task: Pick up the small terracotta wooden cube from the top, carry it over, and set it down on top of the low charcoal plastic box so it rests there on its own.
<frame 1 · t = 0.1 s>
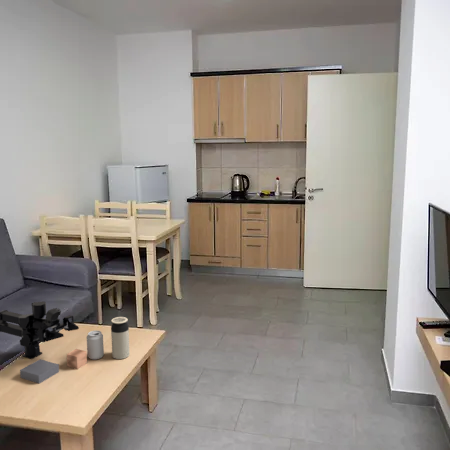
hand: (71, 331, 204), 17 cm above the table, tool horizontal, fingers open, 9 cm apart
travel mug: (121, 356, 218), on the table
can: (95, 357, 217), on the table
terracotta cube: (77, 365, 209), on the table
charcoal box: (40, 375, 200), on the table
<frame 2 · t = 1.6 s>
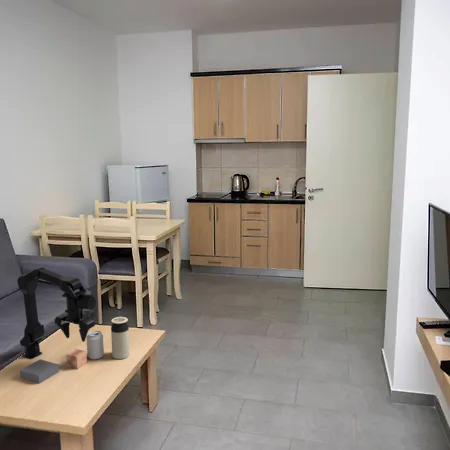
hand: (75, 339, 206), 12 cm above the table, tool pointing down, fingers open, 9 cm apart
nothing on the table moved.
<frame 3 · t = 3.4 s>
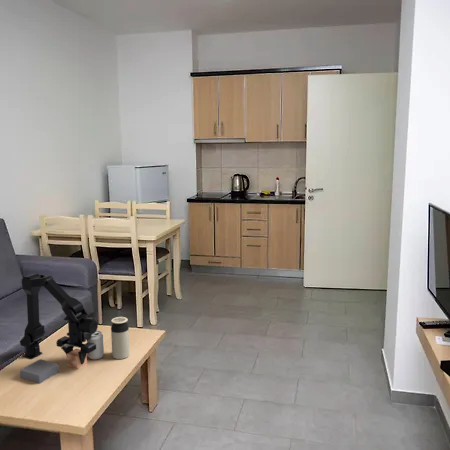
hand: (77, 362, 208), 1 cm above the table, tool pointing down, fingers closed on terracotta cube, 6 cm apart
terracotta cube: (77, 364, 209), on the table, touching gripper
everything else where it was.
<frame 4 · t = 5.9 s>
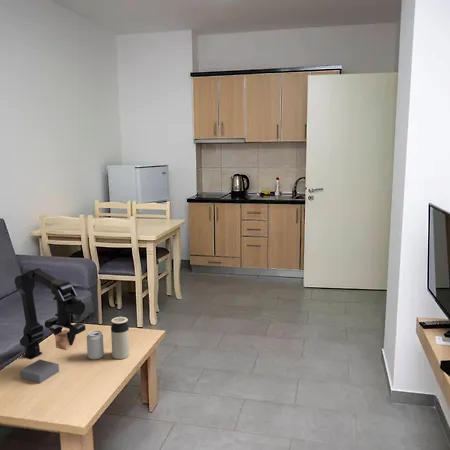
hand: (65, 343, 204), 11 cm above the table, tool pointing down, fingers closed on terracotta cube, 6 cm apart
terracotta cube: (66, 346, 204), point 10 cm above the table, touching gripper
everything else where it was.
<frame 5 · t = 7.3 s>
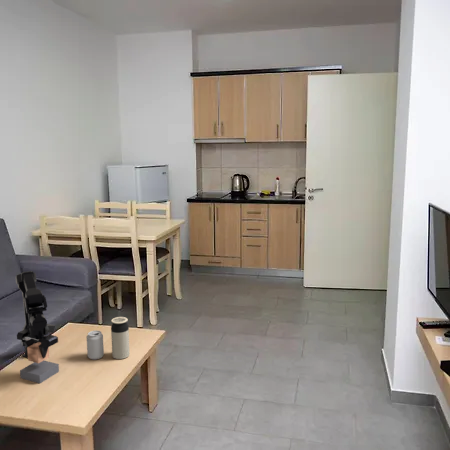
hand: (38, 356, 198), 9 cm above the table, tool pointing down, fingers closed on terracotta cube, 6 cm apart
terracotta cube: (38, 358, 198), point 7 cm above the table, touching gripper
everything else where it was.
when the fingers open (7 cm above the table, at t = 8.5 s): terracotta cube drops 2 cm, resting on charcoal box.
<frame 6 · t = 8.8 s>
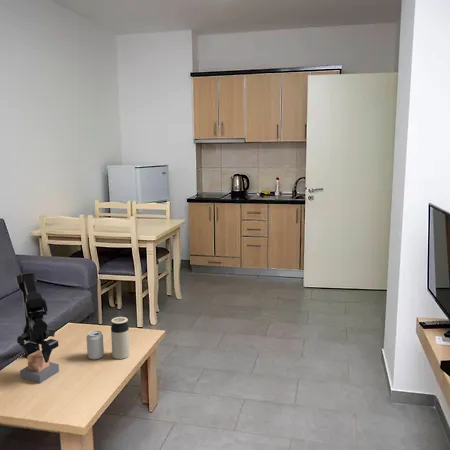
hand: (39, 360, 198), 7 cm above the table, tool pointing down, fingers open, 9 cm apart
terracotta cube: (38, 367, 199), point 4 cm above the table, touching charcoal box
charcoal box: (40, 375, 200), on the table, touching terracotta cube
everything else where it was.
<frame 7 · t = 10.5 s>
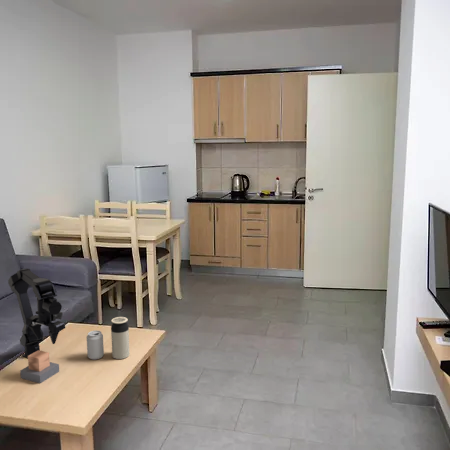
hand: (46, 341, 205), 12 cm above the table, tool pointing down, fingers open, 9 cm apart
nothing on the table moved.
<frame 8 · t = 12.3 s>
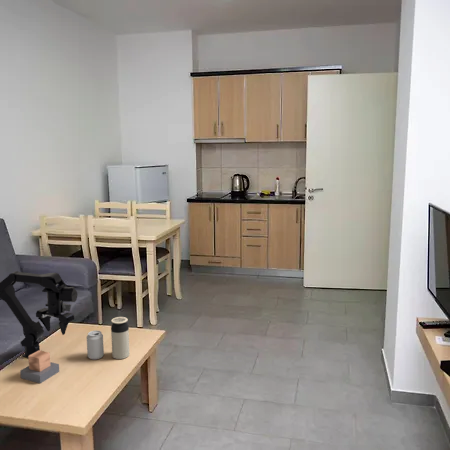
hand: (56, 332, 214), 12 cm above the table, tool pointing down, fingers open, 9 cm apart
nothing on the table moved.
at the end: terracotta cube 0.1 cm off-centre on the charcoal box, point 4.0 cm above the charcoal box's base; terracotta cube tilted 0°; the gripper is holding nothing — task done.
